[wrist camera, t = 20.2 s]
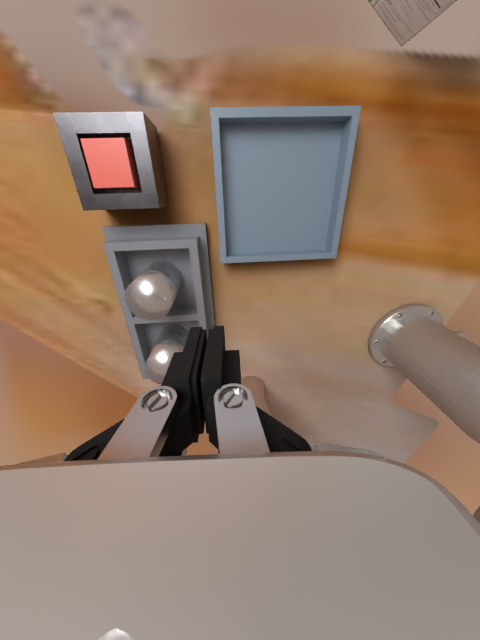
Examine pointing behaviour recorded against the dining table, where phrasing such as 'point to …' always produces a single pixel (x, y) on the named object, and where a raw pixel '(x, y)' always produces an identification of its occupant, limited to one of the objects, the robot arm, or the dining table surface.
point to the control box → (145, 150)
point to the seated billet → (165, 351)
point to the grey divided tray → (172, 246)
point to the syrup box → (408, 15)
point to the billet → (154, 291)
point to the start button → (111, 163)
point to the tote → (281, 180)
